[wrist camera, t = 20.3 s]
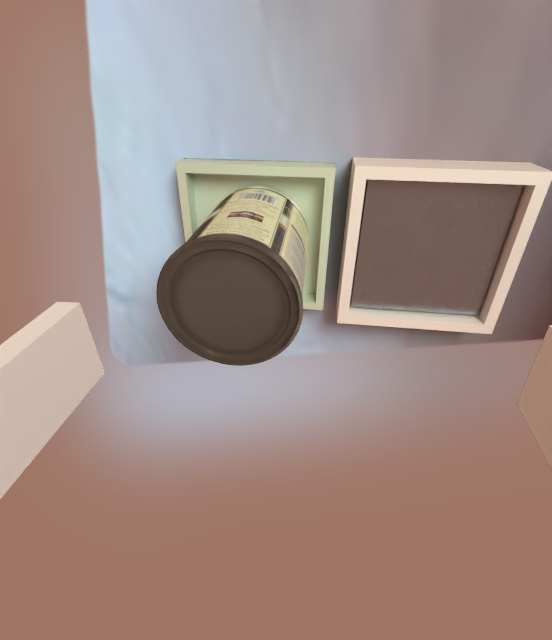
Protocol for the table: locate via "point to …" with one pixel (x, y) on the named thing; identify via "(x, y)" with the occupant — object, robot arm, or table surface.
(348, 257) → the checker cradle
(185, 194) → the tray
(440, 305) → the plate
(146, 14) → the table surface
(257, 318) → the coffee can
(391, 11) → the table surface
